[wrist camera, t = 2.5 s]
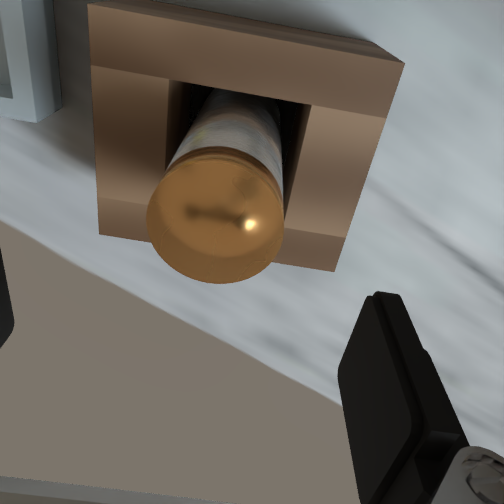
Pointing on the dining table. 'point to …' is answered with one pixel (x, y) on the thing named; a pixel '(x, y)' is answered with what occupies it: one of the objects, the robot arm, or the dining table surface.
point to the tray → (28, 60)
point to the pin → (222, 192)
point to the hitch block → (241, 80)
